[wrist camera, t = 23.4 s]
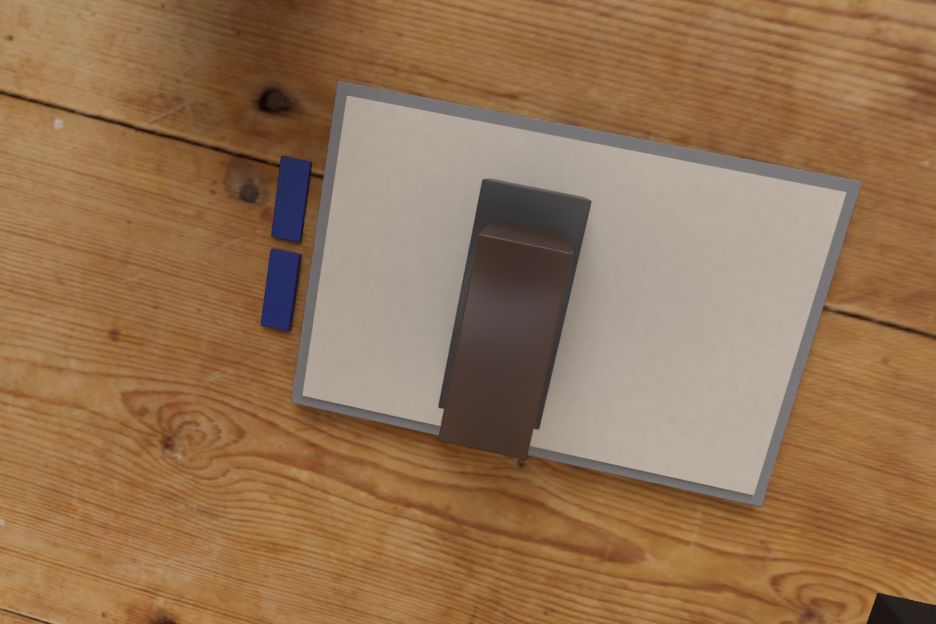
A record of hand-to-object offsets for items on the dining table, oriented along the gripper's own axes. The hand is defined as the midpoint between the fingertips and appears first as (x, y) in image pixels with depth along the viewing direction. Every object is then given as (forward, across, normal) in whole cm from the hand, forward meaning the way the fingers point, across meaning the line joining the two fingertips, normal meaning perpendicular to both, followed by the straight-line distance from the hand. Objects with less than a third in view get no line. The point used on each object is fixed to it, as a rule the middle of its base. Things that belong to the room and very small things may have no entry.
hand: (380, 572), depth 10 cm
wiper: (+24, +1, 0) cm, 24 cm away
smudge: (+25, -10, -2) cm, 27 cm away
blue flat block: (+25, -10, +2) cm, 27 cm away
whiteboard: (+25, +3, 0) cm, 25 cm away
